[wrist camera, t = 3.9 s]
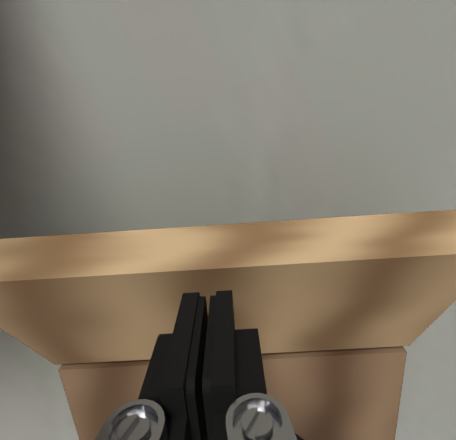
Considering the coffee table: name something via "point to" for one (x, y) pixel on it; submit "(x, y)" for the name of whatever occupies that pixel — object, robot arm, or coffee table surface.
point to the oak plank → (231, 284)
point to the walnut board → (270, 391)
